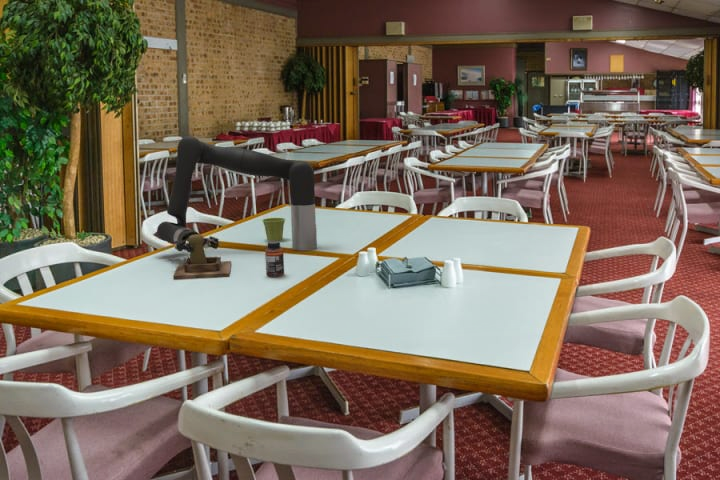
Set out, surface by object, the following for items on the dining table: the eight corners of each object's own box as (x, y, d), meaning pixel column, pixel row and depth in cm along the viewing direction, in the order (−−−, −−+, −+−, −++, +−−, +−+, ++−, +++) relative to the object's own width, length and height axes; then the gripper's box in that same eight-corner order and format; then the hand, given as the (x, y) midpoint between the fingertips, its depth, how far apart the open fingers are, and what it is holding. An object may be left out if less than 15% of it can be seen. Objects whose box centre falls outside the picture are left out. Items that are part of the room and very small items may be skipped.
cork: (203, 268, 250) (200, 236, 249) (186, 268, 252) (183, 236, 250) (210, 264, 256) (207, 233, 254) (194, 265, 257) (190, 233, 256)
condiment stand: (231, 264, 264) (230, 254, 264) (229, 276, 247) (228, 265, 246) (179, 266, 262) (178, 256, 261) (173, 279, 245) (172, 268, 244)
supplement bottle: (274, 272, 252) (273, 239, 250) (288, 274, 249) (286, 241, 246) (262, 276, 247) (260, 242, 245) (276, 278, 244) (274, 244, 242)
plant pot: (258, 242, 302) (257, 220, 300) (270, 237, 310) (269, 217, 309) (279, 243, 298) (278, 222, 297) (290, 239, 307) (289, 218, 305)
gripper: (166, 231, 260) (183, 239, 247) (206, 226, 268) (223, 233, 254) (168, 252, 262) (184, 261, 248) (207, 247, 269) (224, 255, 256)
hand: (204, 247), depth 251 cm, fingers open, 8 cm apart
